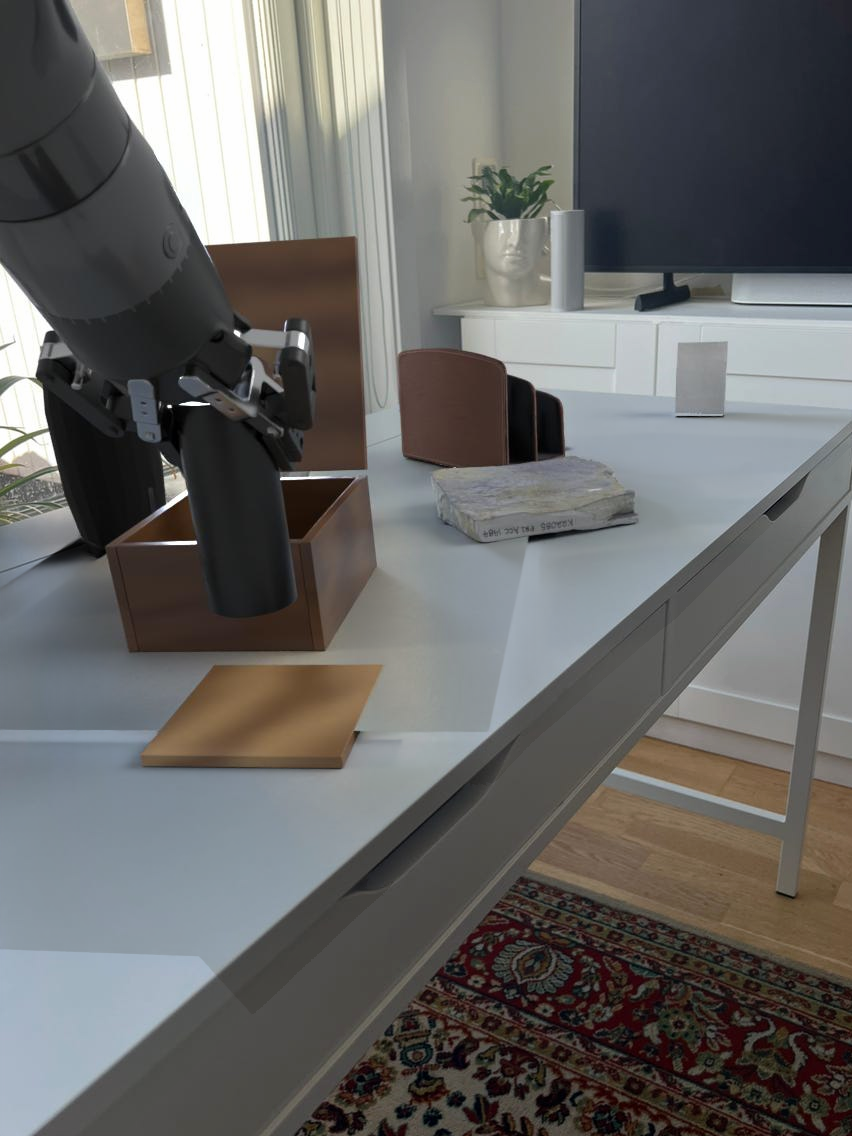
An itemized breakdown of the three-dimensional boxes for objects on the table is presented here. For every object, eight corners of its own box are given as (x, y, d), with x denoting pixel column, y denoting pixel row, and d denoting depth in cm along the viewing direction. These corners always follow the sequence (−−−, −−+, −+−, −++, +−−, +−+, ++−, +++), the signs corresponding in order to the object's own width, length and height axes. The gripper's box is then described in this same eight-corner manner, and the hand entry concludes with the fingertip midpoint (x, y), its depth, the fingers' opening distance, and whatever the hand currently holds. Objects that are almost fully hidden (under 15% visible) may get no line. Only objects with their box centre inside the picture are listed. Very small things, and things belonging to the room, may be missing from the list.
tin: (195, 618, 55) (154, 407, 50) (226, 586, 60) (192, 390, 55) (282, 617, 54) (250, 403, 49) (307, 585, 59) (280, 386, 54)
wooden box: (326, 660, 68) (310, 542, 64) (130, 661, 69) (104, 546, 66) (378, 574, 83) (367, 474, 80) (217, 576, 85) (200, 479, 82)
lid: (355, 235, 76) (357, 238, 77) (180, 246, 78) (184, 248, 79) (365, 469, 79) (367, 469, 80) (197, 474, 81) (201, 474, 82)
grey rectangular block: (723, 416, 135) (727, 343, 131) (675, 417, 137) (676, 344, 133) (724, 411, 138) (728, 339, 134) (677, 412, 140) (679, 341, 136)
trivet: (141, 766, 56) (139, 754, 55) (216, 675, 66) (214, 664, 66) (343, 768, 54) (341, 756, 54) (385, 674, 65) (384, 663, 65)
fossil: (665, 526, 94) (583, 477, 108) (666, 481, 92) (583, 437, 106) (476, 568, 88) (416, 510, 102) (472, 521, 86) (412, 468, 100)
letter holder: (506, 481, 109) (500, 354, 104) (401, 458, 123) (390, 344, 117) (566, 464, 115) (564, 342, 109) (460, 443, 129) (453, 334, 123)
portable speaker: (65, 550, 95) (15, 346, 87) (153, 527, 101) (113, 333, 93) (101, 567, 89) (50, 350, 81) (192, 542, 95) (153, 337, 87)
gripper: (277, 160, 40) (368, 399, 56) (-40, 183, 42) (135, 408, 58) (255, 305, 37) (357, 513, 53) (-83, 323, 39) (113, 519, 55)
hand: (241, 458), depth 55 cm, fingers closed on tin, 5 cm apart
